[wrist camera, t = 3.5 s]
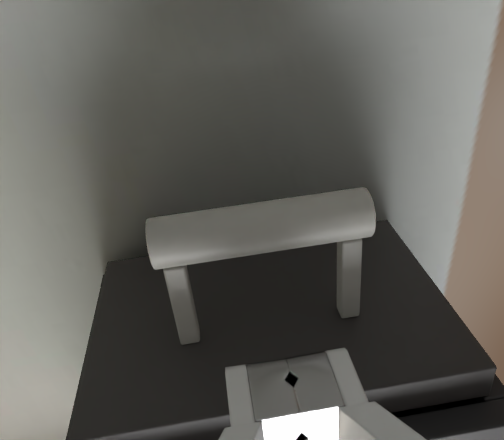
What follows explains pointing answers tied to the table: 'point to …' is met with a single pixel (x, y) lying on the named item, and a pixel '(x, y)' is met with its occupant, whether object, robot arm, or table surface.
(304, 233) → the drawer
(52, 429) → the table surface
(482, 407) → the cabinet
